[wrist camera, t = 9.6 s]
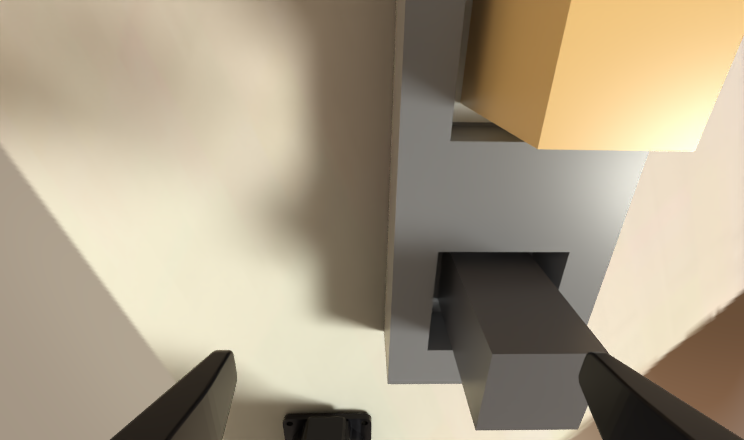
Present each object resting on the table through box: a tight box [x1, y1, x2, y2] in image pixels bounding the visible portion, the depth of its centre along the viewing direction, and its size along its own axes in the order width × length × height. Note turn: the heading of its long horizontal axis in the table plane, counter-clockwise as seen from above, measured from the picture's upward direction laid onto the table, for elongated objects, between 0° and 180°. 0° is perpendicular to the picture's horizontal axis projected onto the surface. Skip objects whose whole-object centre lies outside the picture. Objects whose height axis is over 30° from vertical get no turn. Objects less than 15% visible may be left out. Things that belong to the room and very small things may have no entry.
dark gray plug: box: [438, 252, 609, 430], centre depth 17 cm, size 4×4×8 cm
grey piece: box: [384, 0, 649, 384], centre depth 17 cm, size 22×10×4 cm, turn 179°
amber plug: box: [460, 0, 744, 152], centre depth 12 cm, size 4×4×8 cm
